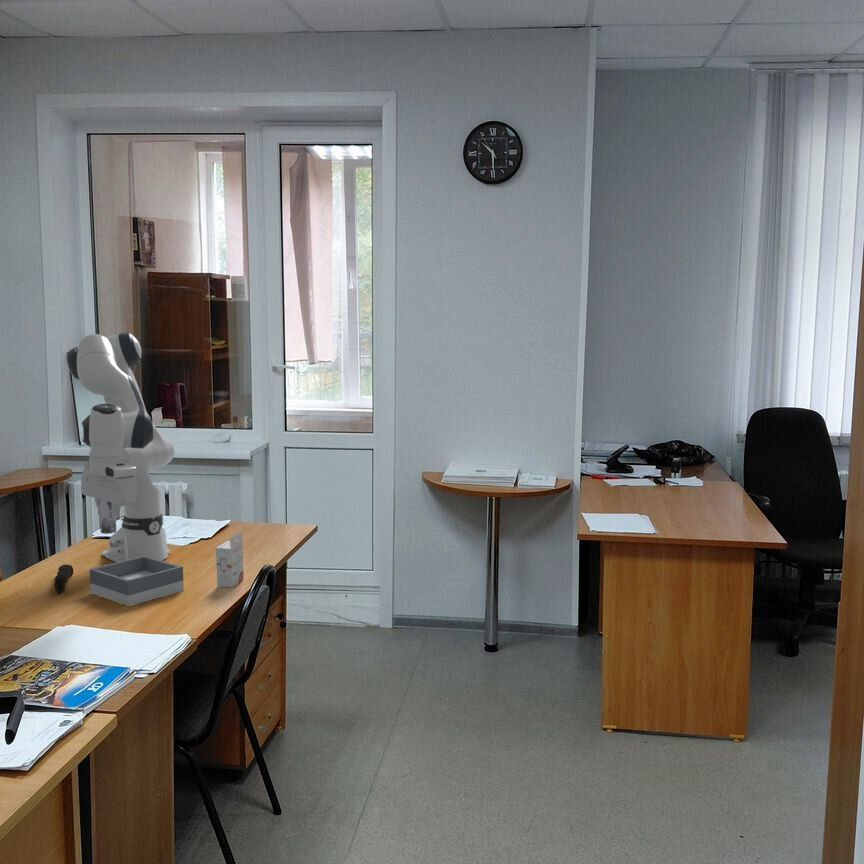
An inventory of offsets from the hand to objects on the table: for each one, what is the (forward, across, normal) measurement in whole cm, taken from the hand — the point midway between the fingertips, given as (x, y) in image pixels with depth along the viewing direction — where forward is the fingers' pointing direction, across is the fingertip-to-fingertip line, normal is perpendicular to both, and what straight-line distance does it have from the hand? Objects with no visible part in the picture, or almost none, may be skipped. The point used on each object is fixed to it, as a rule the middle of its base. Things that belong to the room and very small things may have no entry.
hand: (108, 516), depth 242 cm
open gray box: (+24, -3, +11) cm, 27 cm away
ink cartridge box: (+24, +11, +33) cm, 42 cm away
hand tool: (+26, -24, +1) cm, 35 cm away
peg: (+4, 0, 0) cm, 4 cm away
